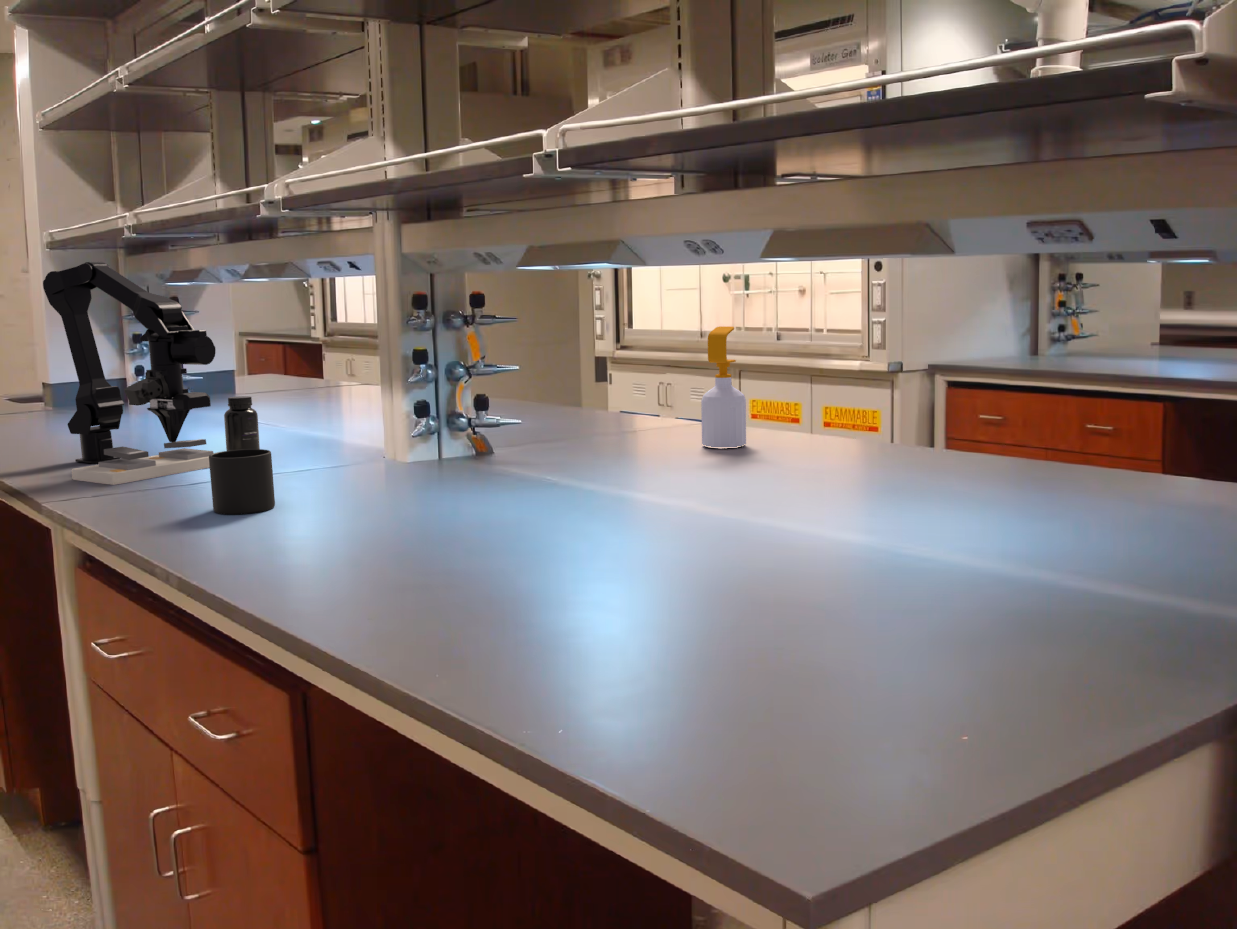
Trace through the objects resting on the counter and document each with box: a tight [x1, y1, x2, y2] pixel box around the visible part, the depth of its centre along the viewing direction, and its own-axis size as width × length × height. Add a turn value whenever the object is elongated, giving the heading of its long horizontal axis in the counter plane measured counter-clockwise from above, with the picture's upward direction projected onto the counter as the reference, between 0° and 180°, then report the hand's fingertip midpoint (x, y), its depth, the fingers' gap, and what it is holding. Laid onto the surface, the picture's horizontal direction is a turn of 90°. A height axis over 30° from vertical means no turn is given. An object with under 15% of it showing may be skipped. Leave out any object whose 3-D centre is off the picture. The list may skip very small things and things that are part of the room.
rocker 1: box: [104, 446, 150, 460], centre depth 215 cm, size 8×4×1 cm, turn 57°
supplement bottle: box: [223, 395, 261, 451], centre depth 241 cm, size 7×7×12 cm
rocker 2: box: [163, 438, 207, 449], centre depth 225 cm, size 8×4×1 cm, turn 57°
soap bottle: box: [700, 326, 747, 447], centre depth 232 cm, size 9×9×25 cm
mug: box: [209, 448, 276, 516], centre depth 181 cm, size 9×12×9 cm
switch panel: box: [71, 447, 215, 486], centre depth 220 cm, size 13×25×3 cm, turn 147°
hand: (172, 441), depth 228 cm, fingers closed
